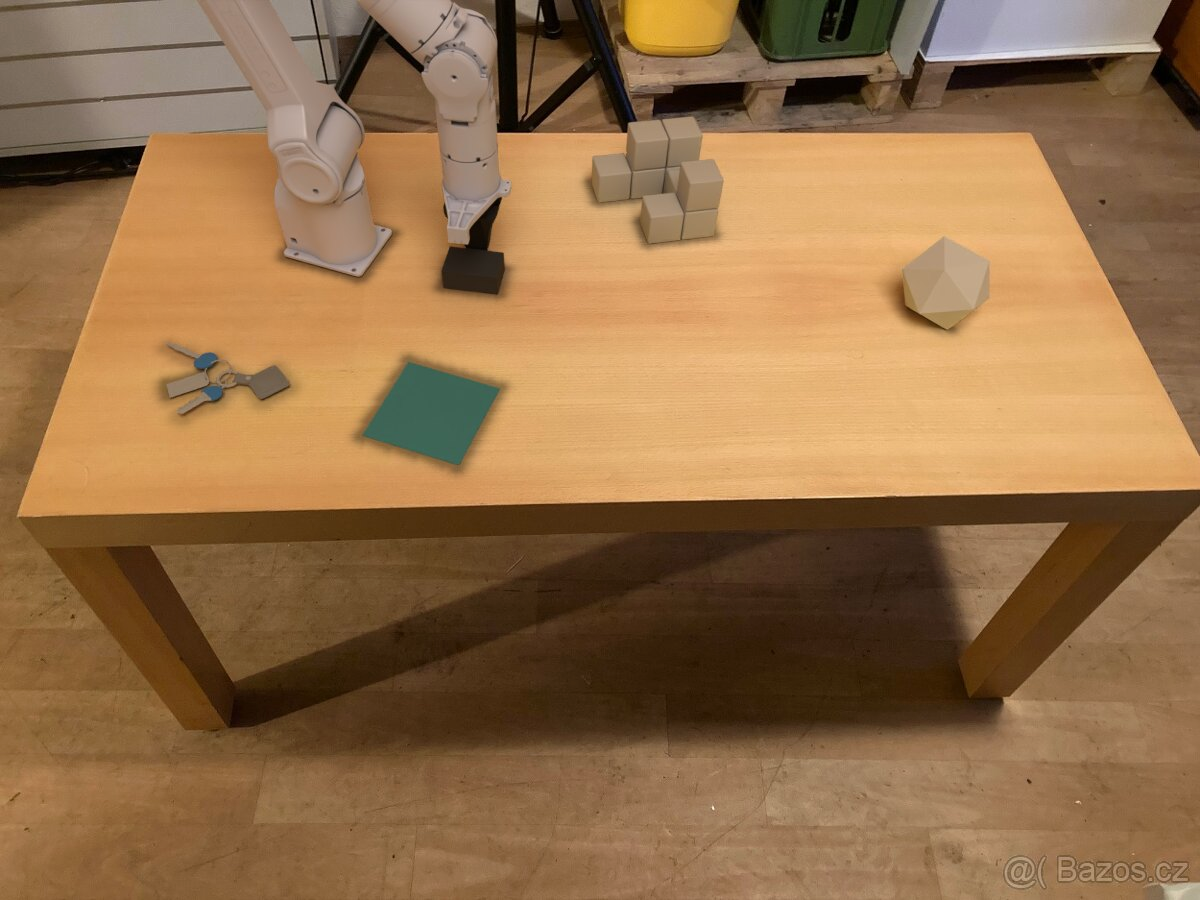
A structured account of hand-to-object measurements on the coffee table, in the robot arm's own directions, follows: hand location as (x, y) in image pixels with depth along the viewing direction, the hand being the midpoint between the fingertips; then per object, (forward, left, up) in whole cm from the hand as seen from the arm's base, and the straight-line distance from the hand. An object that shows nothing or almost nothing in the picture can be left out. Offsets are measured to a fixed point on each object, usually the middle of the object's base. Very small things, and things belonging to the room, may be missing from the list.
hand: (477, 251), depth 100 cm
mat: (+4, -21, -2) cm, 22 cm away
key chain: (-17, -26, -2) cm, 31 cm away
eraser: (+1, -3, -1) cm, 3 cm away
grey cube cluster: (+15, +16, -2) cm, 22 cm away
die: (+49, +11, -2) cm, 50 cm away
